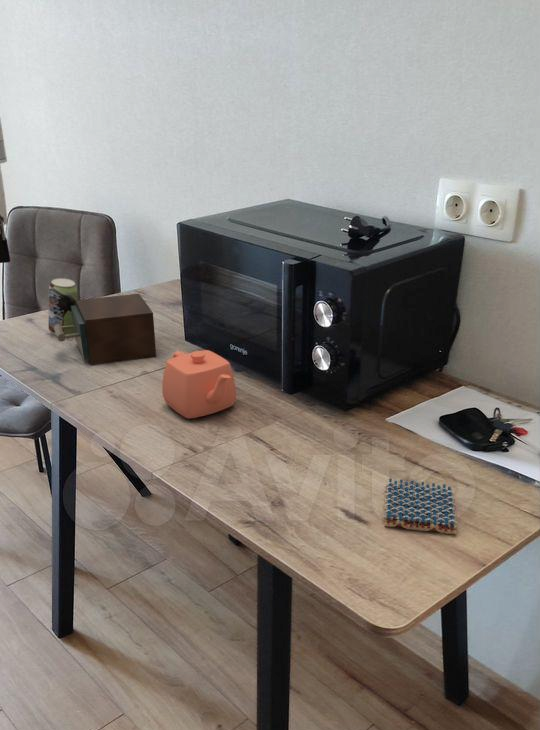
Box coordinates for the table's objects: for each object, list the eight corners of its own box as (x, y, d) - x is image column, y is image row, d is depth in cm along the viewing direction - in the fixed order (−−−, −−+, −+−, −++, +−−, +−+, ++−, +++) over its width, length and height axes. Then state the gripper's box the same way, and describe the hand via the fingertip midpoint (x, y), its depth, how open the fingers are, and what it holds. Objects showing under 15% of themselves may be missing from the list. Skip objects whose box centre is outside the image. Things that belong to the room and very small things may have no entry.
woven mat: (381, 528, 99) (382, 517, 97) (383, 487, 107) (385, 476, 106) (457, 537, 97) (459, 526, 96) (453, 495, 106) (455, 484, 105)
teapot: (202, 382, 137) (200, 332, 132) (256, 418, 125) (257, 364, 120) (150, 397, 131) (146, 345, 126) (202, 436, 120) (200, 380, 114)
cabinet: (91, 365, 143) (85, 320, 138) (81, 343, 153) (75, 300, 148) (156, 356, 148) (153, 312, 142) (142, 335, 157) (139, 293, 152)
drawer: (62, 363, 142) (56, 326, 137) (55, 343, 150) (49, 307, 146) (144, 353, 147) (141, 317, 143) (132, 333, 156) (129, 299, 152)
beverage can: (51, 328, 160) (43, 276, 153) (84, 328, 161) (78, 275, 154) (47, 339, 155) (38, 285, 148) (81, 338, 155) (74, 284, 149)
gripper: (-43, 146, 123) (-23, 252, 133) (-41, 159, 112) (-19, 275, 121) (2, 145, 126) (18, 249, 136) (9, 158, 114) (26, 271, 124)
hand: (1, 261), depth 128 cm, fingers closed
